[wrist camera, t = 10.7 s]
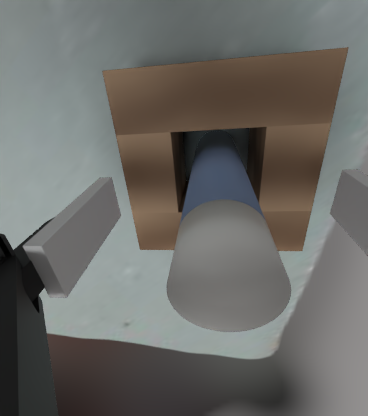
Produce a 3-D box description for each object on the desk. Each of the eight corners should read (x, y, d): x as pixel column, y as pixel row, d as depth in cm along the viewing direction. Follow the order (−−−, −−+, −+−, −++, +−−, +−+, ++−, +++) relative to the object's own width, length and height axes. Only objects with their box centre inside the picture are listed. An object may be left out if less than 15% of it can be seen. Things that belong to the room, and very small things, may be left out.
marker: (195, 131, 22) (159, 245, 7) (236, 129, 22) (301, 247, 6) (196, 169, 24) (172, 328, 9) (234, 168, 24) (281, 335, 8)
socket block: (134, 74, 20) (102, 70, 14) (303, 58, 19) (348, 47, 13) (155, 212, 27) (140, 249, 21) (280, 210, 26) (302, 251, 20)
